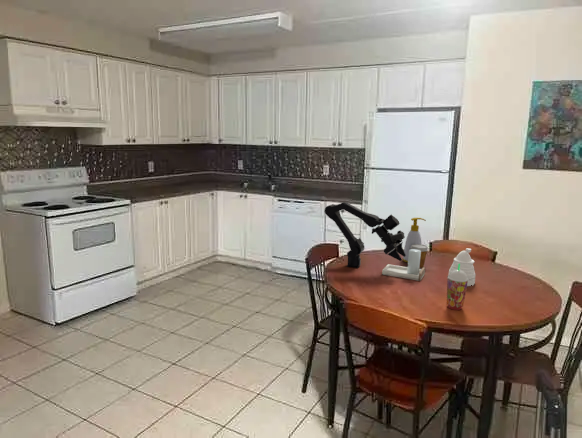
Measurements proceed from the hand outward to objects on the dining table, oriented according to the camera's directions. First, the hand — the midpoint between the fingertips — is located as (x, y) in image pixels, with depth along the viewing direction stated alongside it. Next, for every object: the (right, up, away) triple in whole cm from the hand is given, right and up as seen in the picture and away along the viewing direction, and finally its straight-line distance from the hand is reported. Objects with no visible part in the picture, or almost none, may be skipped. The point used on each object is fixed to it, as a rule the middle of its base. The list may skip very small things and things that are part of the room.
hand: (403, 258), depth 228 cm
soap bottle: (+12, -4, +26) cm, 30 cm away
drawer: (0, -9, +1) cm, 9 cm away
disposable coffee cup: (+13, -6, +17) cm, 22 cm away
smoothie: (+12, -18, -41) cm, 47 cm away
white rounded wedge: (+5, -8, -1) cm, 10 cm away
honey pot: (+28, -12, -8) cm, 31 cm away
